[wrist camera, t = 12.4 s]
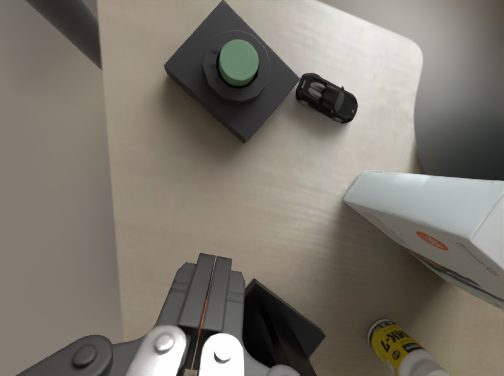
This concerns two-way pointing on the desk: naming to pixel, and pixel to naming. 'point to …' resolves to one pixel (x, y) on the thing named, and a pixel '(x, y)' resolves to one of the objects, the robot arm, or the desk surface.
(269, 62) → the switch block
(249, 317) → the switch bracket
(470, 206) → the skincare box
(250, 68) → the power button
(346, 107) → the toy car
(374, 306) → the desk surface
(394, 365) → the supplement bottle
